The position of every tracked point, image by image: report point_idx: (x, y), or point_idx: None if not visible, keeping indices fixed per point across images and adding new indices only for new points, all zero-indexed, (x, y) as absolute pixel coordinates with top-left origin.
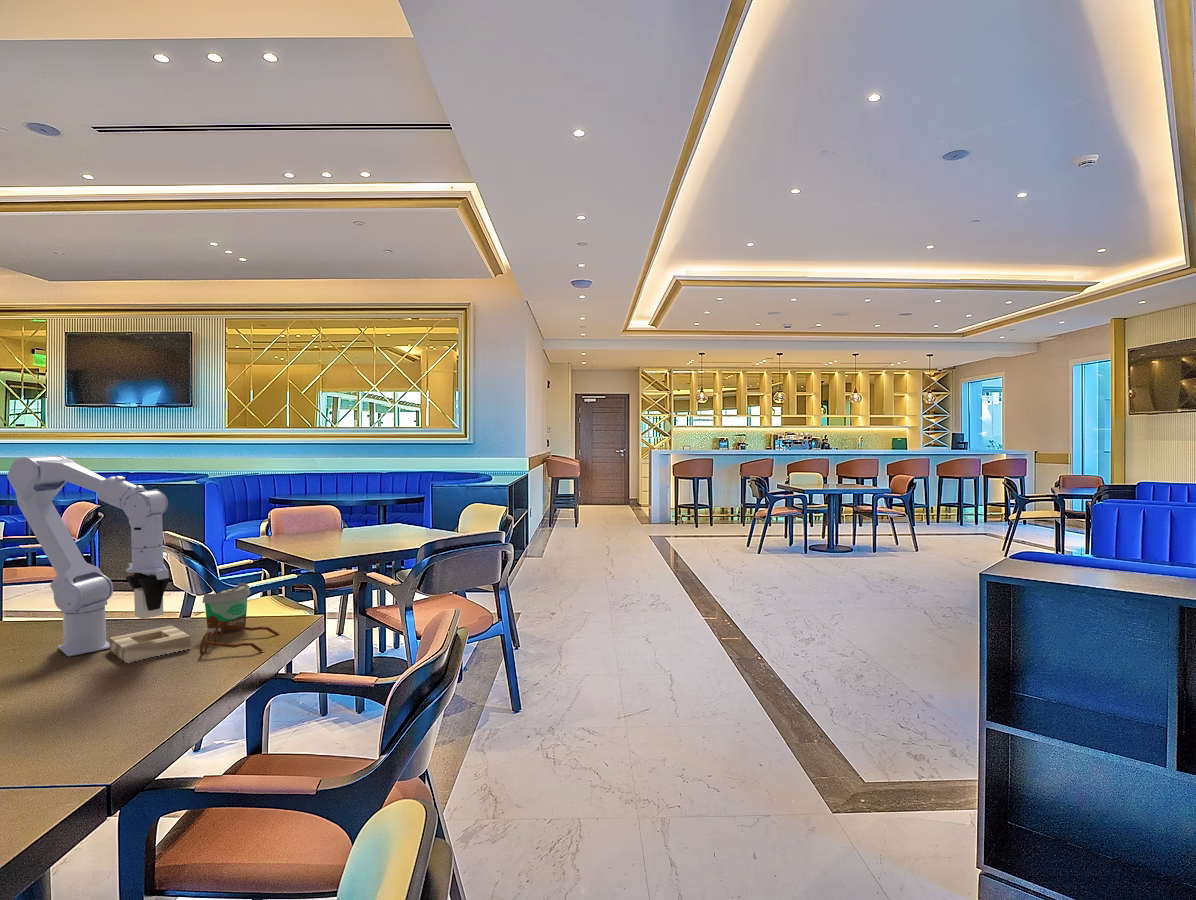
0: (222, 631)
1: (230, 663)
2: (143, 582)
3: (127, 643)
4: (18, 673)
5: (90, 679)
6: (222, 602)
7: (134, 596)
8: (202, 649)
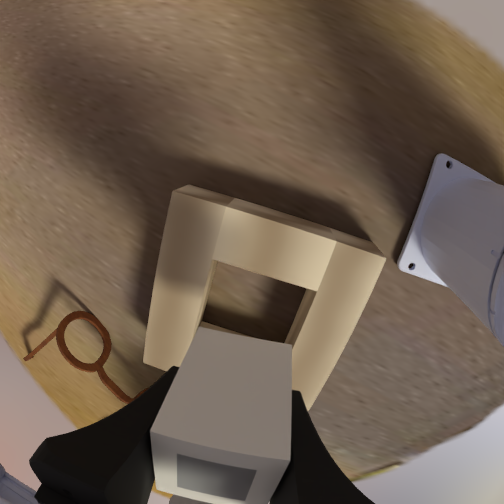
0: None
1: (10, 291)
2: (42, 448)
3: (245, 239)
4: (412, 14)
5: (150, 63)
6: None
7: (287, 419)
8: (75, 318)
